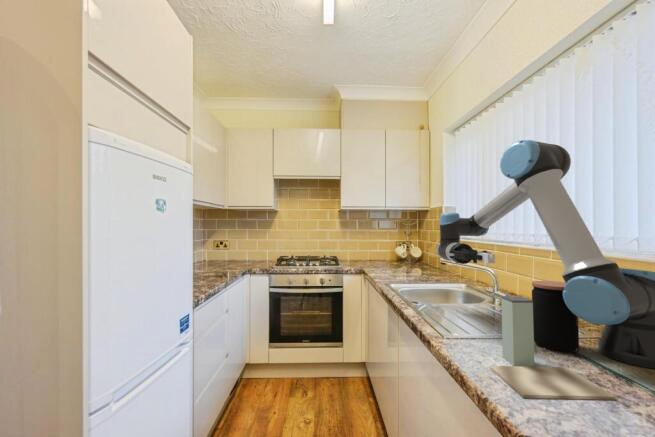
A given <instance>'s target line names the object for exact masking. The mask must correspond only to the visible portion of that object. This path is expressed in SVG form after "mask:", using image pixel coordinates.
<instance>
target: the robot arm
mask: <svg viewBox="0 0 655 437" xmlns="http://www.w3.org/2000/svg"><path fill="white" fill-rule="evenodd" d="M571 162H572V159H571V156H570V153H569V151H567V149H566V148H564V147H563V146H560V145H558V144H556V143H555V144H552V143H547V142H543V141H538V140H537V141H536V140H533V139H528V140H527V139H521V140H517V141H515V142H513V143H511V144H510V145H509V146H508V147H507V148H506V149H505V150H504V152H503V153H502V157H501V158H500V164H499V168H500V171H501V173H502V174H503V175H504V176H505V177H507V178H508V179H510V180H514V182H513V183H511V184H510V185H508V186H507V188H505V189H504V190H502V191H501V193H499V194H497V196H496V197H494V198H493V199H492V200H491V201H489V202H488V203H487V204H485V205H484V206H483V207H481V208H480V209H479V210H478V211H477V212H475V213H474V214H473V215H472V216H470V217H460V213H458V212H444V213H443V212H442V213H441V214H440V216H439V244H438V246H437V248H436V249H437V250H436V252H437V255H438V256H439V257H440V258H441V259H443V260H445V261H448V262H449V261H450V262H453V263H455V265H458V264H460V265H461V264H462V265H467V264H469V263H470V262H471V261H472V262H473V264H477V263H478V262H480V263H485V264H496V256H495V254H494V253H492V252H489V251H488V250H482V251H478V250H477V249H474V248H473V247H472V246H471V245H469V244H467V243H464V242H463V243H462V242H460V240H461V237H480V236H481V237H482V236H484V235H486V234H487V233H488V231H489V230H490V229H489V228H490V227H491V226H492V225H493V224H495V223H496V222H498V221H500V220H501V219H502V218H503V217H505V216H506V215H508V214H510V212H512V211H513V210H515V209H516V208H518V207H519V206H520V205H522V204H523V203H525V202H527V201H528V200H529V199H530V202H531V204H532V205H533V207H534V209H535V212H536V213H537V214H538V217H539V218H540V221H541V222H542V225H543V226H544V228H545V230H546V233H547V235H548V236H549V239H550V241H551V243H552V244H553V246H554V248H555V251H556V253H557V255H558V256H559V259H560V260H561V262H562V264H563V266H564V271H563V273H562V274H561V277H562V279H563V280H564V281H563V282H564V283H566V284H565V286H564V291H563V299H564V301H565V304H566V305H567V307H568V308H569V310H570V311H571V312H572V313H573V314H574V315H576V316H577V317H578V319H581V320H583V321H585V322H586V323H590V324H593V325H599V326H602V325H604V327H603V329H602V331H601V335H600V338H599V339H598V341H597V349H598V352H599V353H601V354H602V355H604V356H606V357H608V358H610V357H611V359H613V358H614V359H613V360H615V359H617V360H616V361H618V360H619V361H618V362H622V361H623V362H622V363H625V364H629V365H634V366H636V367H637V366H638V367H641V368H649V369H655V271H652V270H642V269H631V268H624V267H619V265H618V264H617V262H616V261H614V260H611V259H608V258H606V257H605V255H603V253H602V251H601V250H600V248H599V246H598V244H597V242H596V239H595V238H594V237H593V235H592V234H591V232H590V230H589V228H588V226H587V225H586V223H585V221H584V220H583V217H582V216H581V214H580V212H579V211H578V209H577V208H576V206H575V203H574V202H573V199H572V198H571V197H570V195H569V193H568V191H567V190H566V188H565V186H564V184H563V183H562V181H561V180H562V179H563V178H564V177H565V176H566V175H567V174H568V173H569V170H570V168H571V165H572V163H571Z"/></svg>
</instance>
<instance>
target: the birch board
mask: <svg viewBox="0 0 655 437" xmlns="http://www.w3.org/2000/svg"><path fill="white" fill-rule="evenodd" d="M489 369H490V370H491V371H492V372H493V373H494V374H495V375H497V377H499V378H500V379H501V380H502V381H503V382H504V383H505V384H506V385H508V386H509V387H510V388H511V389H512V390H514V392H516V393H517V394H518V395H519V397H521V398H522V399H558V400H559V399H560V400H561V399H564V400H566V399H567V400H607V401H608V400H609V401H611V400H612V401H613V400H617V398H616V396H615V395H614V394H612V393H610V392H609V391H607V390H605V389H604V388H602V387H601V386H599V385H597V384H595V383H593V382H592V381H590V380H588V379H587V378H586V377H583V376H582V375H580V374H578V373H577V372H575V371H574V370H572V369H570V368H569V367H567V366H534V367H533V366H513V365H512V366H511V365H510V366H509V365H489Z"/></svg>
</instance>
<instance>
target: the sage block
mask: <svg viewBox="0 0 655 437" xmlns="http://www.w3.org/2000/svg"><path fill="white" fill-rule="evenodd" d="M500 299H501V301H500V303H501V337H502V338H501V341H502V342H501V344H502V359H504V360H505V361H506V362H508V363H509V364H510V365H512V366H528V367H535V341H534V329H533V301H532V299H530V298H526V297H525V296H516V295H515V296H514V295H512V296H511V295H510V296H507V295H506V296H503V295H501V296H500Z"/></svg>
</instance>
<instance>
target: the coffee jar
mask: <svg viewBox="0 0 655 437" xmlns="http://www.w3.org/2000/svg"><path fill="white" fill-rule="evenodd" d="M565 284H566V283H565V281H563V282H561V281H553V280H534V281H531V285H532V287H533V288H532V290H531V300H532V301H533V329H534V344H536V345H537V346H538V347H540V348H542V349H544V348H545V350H547V349H548V350H547V351H551V352H555V351H556V353H562V354H563V353H565V354H569V353H570V354H572V353H575V352H577V351H578V350H579V348H580V337H579V332H580V331H579V317H577V316H576V315H574V314H573V313H572V312H571V311H570V310H569V308H568V307H567V305H566V304H565V301H564V299H563V291H564V286H565Z"/></svg>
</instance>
